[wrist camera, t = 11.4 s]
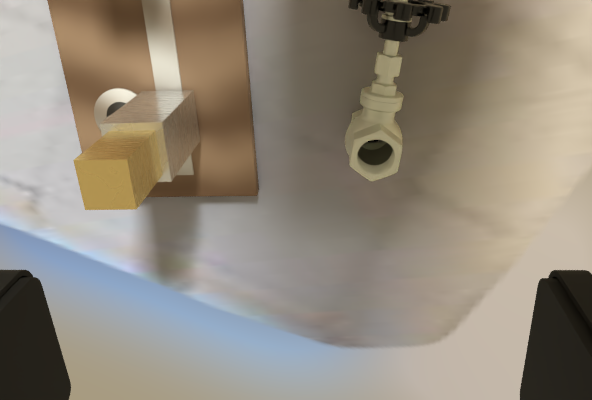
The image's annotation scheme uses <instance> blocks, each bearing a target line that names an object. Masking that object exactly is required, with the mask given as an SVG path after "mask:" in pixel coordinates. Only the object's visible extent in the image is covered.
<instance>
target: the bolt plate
mask: <svg viewBox="0 0 592 400" xmlns="http://www.w3.org/2000/svg"><path fill="white" fill-rule="evenodd" d="M47 1H48V5H49V9H50V14H51V18H52V22H53V27H54V31H55V36H56V40H57V44H58V49H59V53H60V58H61V62H62V66H63V71H64V75H65V79H66V84H67V88H68V93H69V97H70V101H71V106H72V110H73V114H74V119H75V123H76V128H77V132H78V136H79V141H80V145H81V150H82V153H83V152H84V151H86V150H87V149H88V148H89V147H90V146H92V145H93V144H94V143H95V142H96V141H98V140H99V139H100V138H101V137H102V134H101V129H100V123H101V122H102V121H104V120H105V119H106V118H107V117H108V116H110V115H111V114H113V113H114V112H116V111H117V110H118V109H119V108H121V107H122V106H123V105H125V104H126V103H127V102H129V101H130V100H131V99H133V98H134V97H135V96H136V95H138V94H139V93H140V92H142V91H176V90H194V97H195V105H196V113H197V120H198V128H199V136H200V142H199V143H198V145H197V146H196V147H195V149H194V150H193V152H192V153H191V154H190V156H189V157H188V159H187V160H186V162H185V163H184V164H183V166H182V167H181V169H180V170H179V172H178V173H177V174H176V176H175V177H174V179H173V180H172V182H157V183H156V184H155V186H154V187H153V188H152V190H151V191H150V192H149V194H148V195H147V196H146V197H179V196H257V194H258V191H259V186H258V174H257V162H256V150H255V138H254V126H253V114H252V102H251V90H250V79H249V67H248V55H247V43H246V31H245V19H244V7H243V0H47Z"/></svg>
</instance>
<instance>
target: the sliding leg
mask: <svg viewBox="0 0 592 400" xmlns="http://www.w3.org/2000/svg"><path fill="white" fill-rule="evenodd" d="M100 129H101V134H102V137H101V138H100V139H99V140H98V141H96V142H95V143H94V144H93V145H92V146H90V147H89V148H88V149H87V150H86V151H84V152H83V153H82V154H81V155H79V156H78V157H77V158H76V159H75V160H74V164H75V169H76V173H77V177H78V181H79V186H80V190H81V194H82V198H83V202H84V207H85V210H115V209H137V208H138V207H139V205H140V204H141V203H142V201H143V200H144V199H145V197H146V196H147V195H148V194H149V192H150V191H151V190H152V188H153V187H154V186H155V184H156V183H157V182H172V180H173V179H174V177H175V176H176V174H177V173H178V172H179V170H180V169H181V167H182V166H183V164H184V163H185V162H186V160H187V159H188V157H189V156H190V154H191V153H192V152H193V150H194V149H195V147H196V146H197V145H198V143H199V142H200V136H199V128H198V120H197V113H196V105H195V97H194V90H176V91H142V92H140V93H139V94H138V95H136V96H135V97H134V98H133V99H131V100H130V101H129V102H127V103H126V104H125V105H123V106H122V107H121V108H119V109H118V110H117V111H116V112H114V113H113V114H111V115H110V116H108V117H107V118H106V119H105V120H104V121H102V122H101V123H100Z"/></svg>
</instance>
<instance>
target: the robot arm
mask: <svg viewBox="0 0 592 400" xmlns="http://www.w3.org/2000/svg"><path fill="white" fill-rule="evenodd" d="M70 391H71V384H70V379H69V376H68V373H67V369H66V366H65V363H64V359H63V356H62V352H61V349H60V345H59V342H58V339H57V335H56V332H55V328H54V325H53V322H52V318H51V315H50V312H49V308H48V305H47V301H46V298H45V295H44V291H43V288H42V285H41V282H40V280H39V279H38V278H35V277H33V275H32V274H31V273H30V272H29V271H27V270H0V400H69V396H70ZM520 400H592V274H591V273H590V272H589V271H585V270H554V271H552V272H551V273H550V275H549V278H542V279H540V281H539V283H538V288H537V294H536V300H535V306H534V312H533V318H532V324H531V329H530V335H529V342H528V347H527V354H526V359H525V365H524V371H523V377H522V383H521V389H520Z"/></svg>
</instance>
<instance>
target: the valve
mask: <svg viewBox="0 0 592 400" xmlns="http://www.w3.org/2000/svg"><path fill="white" fill-rule="evenodd" d="M358 3H360V5H359V6H361V7H362V10H361V13H363V14H367V21H368V24H369V26H370V27H371V29H373V30H374V31H377V32H379V37H380V38H382V39H385V44H384V49H383V52H377V57H376V63H375V68H374V72H375V74H378V75H377V79H376V80H373V81H372V85H371V87H365V88H363V89H362V91H361V97H360V104H361V105H362V106H363V109H361V110H358V111H356V112H353V113H352V118H351V124H350V125H349V127H348V129H347V131H346V135H345V148H346V151H347V154H348V156H349V164H350V167H352V168H353V169H354V170H355V171H356V172H358V173H359V174H360V175H362V176H363V177H364V178H366V179H367V180H369V181H375V180H379V179H382V178H385V177H388V176H390V175H393V174H395V173H397V171H398V167H399V163H400V159H401V154H402V148H403V146H402V142H403V139H402V133H401V130H400V128H399V126H398V124H397V123H396V122H395V119H394V117H395V112H397V111H400V110H401V107H402V102H403V94H402V93H400V92H398V91H396V88H397V86H396V84H395V83H393V80H394V77H399V73H400V68H401V63H402V55H400V54H398V49H399V44H400V42H405V41H407V40H408V36H410V37H413V36H418V35H420V34H422V33H423V32H425V30H426V29H427V28H428V26H429V23H434V24H439V23H440V21H447V20H448V16H449V12H450V7H451V6H450V5H448V4H442V3H434V1H433V0H349V5H348V7H349V8H351V9H356V10H357V9H358ZM379 10H380V11H385V14H382V19H381V23H379V22H378V20H377V18H378V12H379ZM412 15H413V16H421V17H420V21H419V25H418V26H417V27H416V28H412V27H411V22H412ZM370 140H380V141H378V142H375V143H368V141H370Z"/></svg>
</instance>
